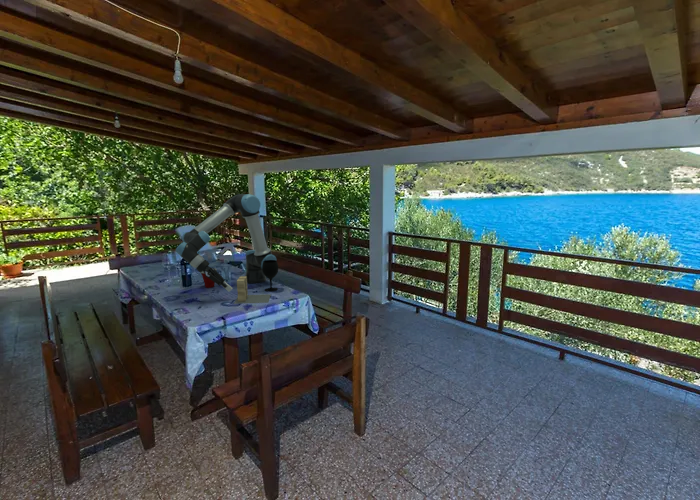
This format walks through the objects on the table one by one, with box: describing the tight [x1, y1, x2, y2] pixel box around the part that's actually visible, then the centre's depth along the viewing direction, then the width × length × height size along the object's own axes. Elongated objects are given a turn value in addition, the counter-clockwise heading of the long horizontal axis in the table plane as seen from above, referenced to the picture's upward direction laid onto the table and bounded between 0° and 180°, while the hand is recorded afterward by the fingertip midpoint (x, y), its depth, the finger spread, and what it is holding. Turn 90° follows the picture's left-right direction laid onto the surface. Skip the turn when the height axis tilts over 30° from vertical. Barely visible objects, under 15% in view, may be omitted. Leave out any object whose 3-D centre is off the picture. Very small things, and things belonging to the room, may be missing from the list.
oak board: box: [236, 275, 249, 302], centre depth 210 cm, size 10×4×13 cm, turn 7°
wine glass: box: [262, 259, 280, 293], centre depth 229 cm, size 10×10×20 cm
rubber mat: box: [233, 293, 272, 305], centre depth 212 cm, size 16×20×1 cm
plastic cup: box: [200, 267, 218, 289], centre depth 237 cm, size 11×11×12 cm
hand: (230, 290), depth 209 cm, fingers closed
